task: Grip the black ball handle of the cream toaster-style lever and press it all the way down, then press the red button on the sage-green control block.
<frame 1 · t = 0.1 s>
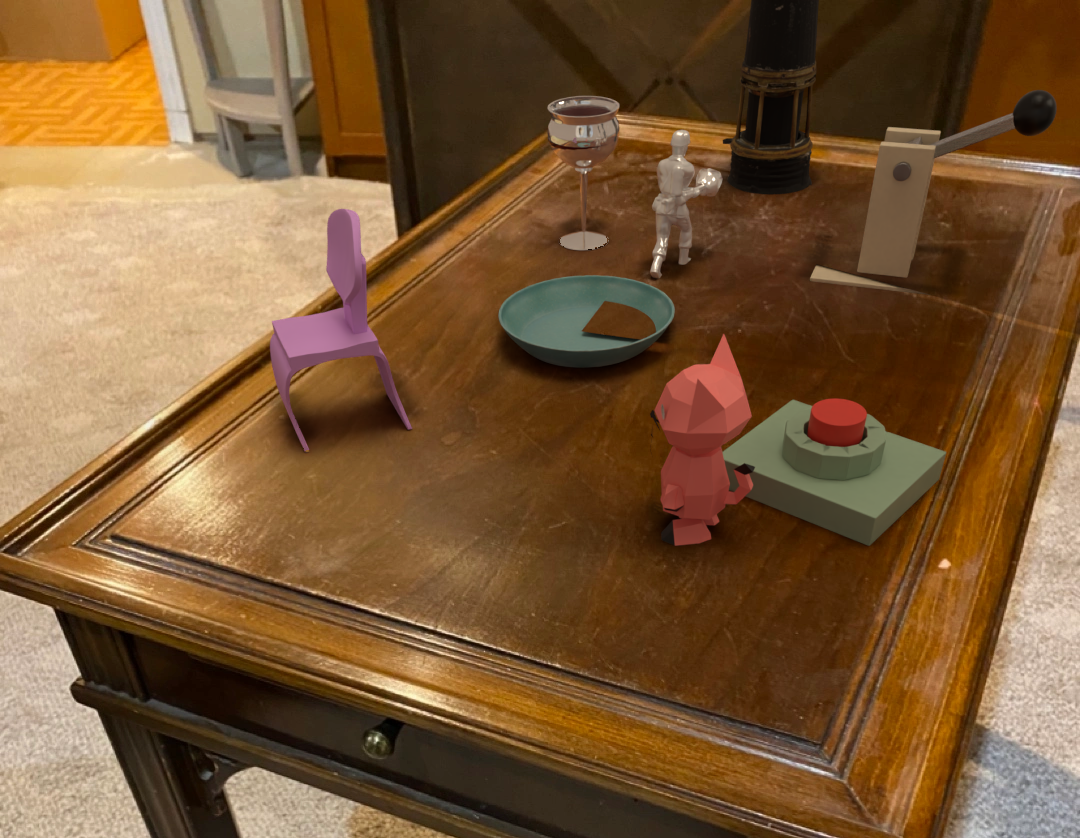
button: (836, 423, 70), point 4 cm above the table, slide at 0.1 cm
figurine: (676, 274, 99), on the table
button block: (825, 481, 73), on the table
lever: (969, 137, 86), point 12 cm above the table, hinge at 25.0°
toy chair: (346, 424, 81), on the table
lantern: (767, 190, 114), on the table
saucer: (586, 342, 90), on the table
wineglass: (583, 242, 105), on the table
bracket: (882, 278, 96), on the table
cat figurine: (695, 529, 70), on the table
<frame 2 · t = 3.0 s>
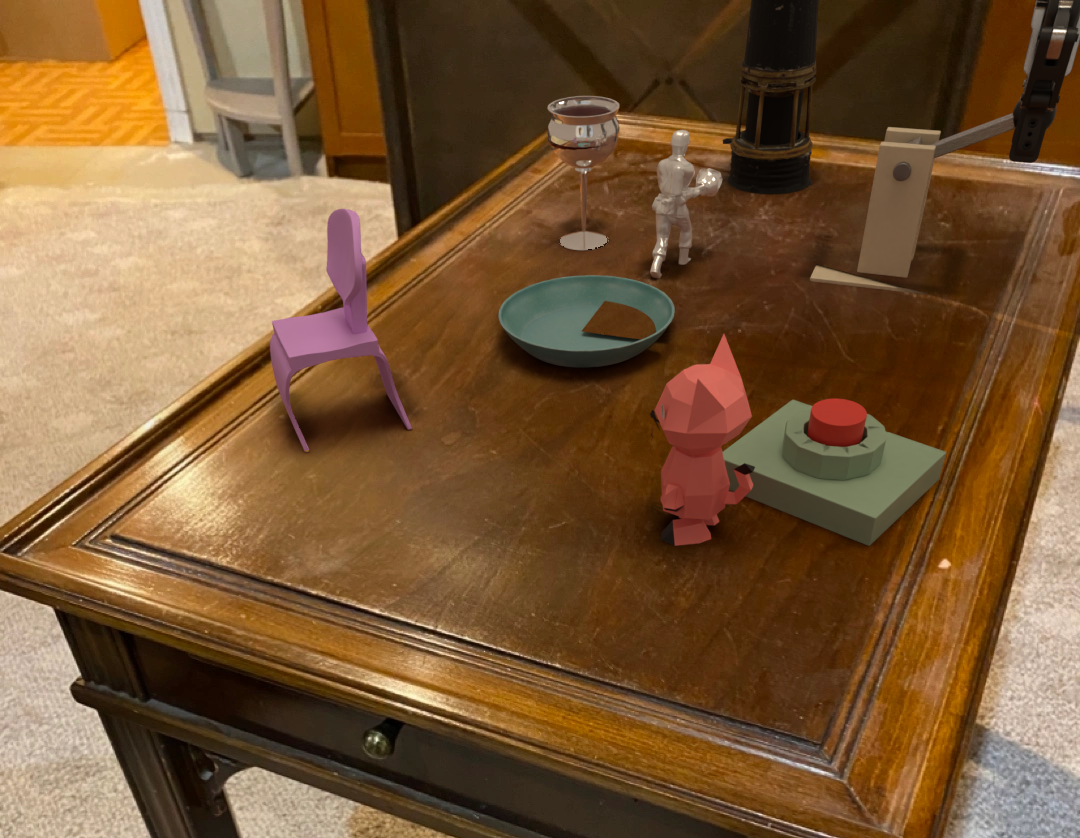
hand: (1023, 152, 86), 11 cm above the table, tool pointing down, fingers closed on lever, 3 cm apart
lever: (969, 137, 86), point 12 cm above the table, hinge at 25.0°, touching gripper
everything else where it was.
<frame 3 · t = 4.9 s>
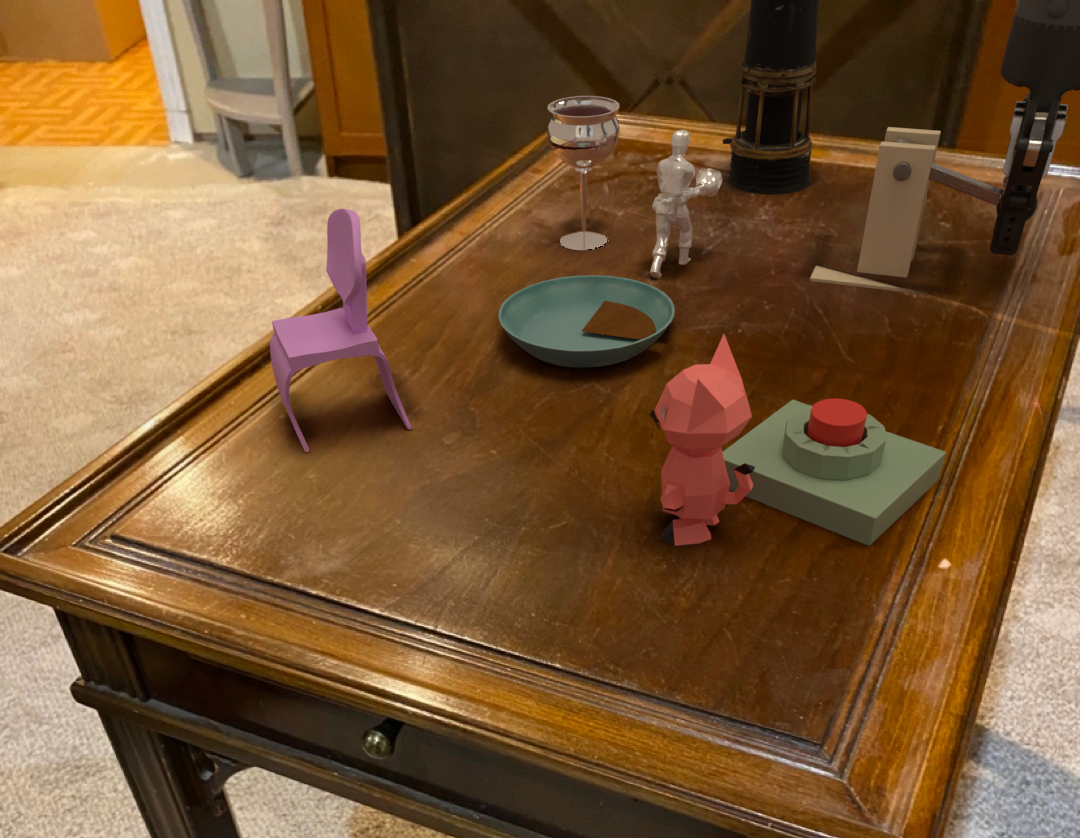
hand: (1004, 243, 91), 4 cm above the table, tool pointing down, fingers closed on lever, 3 cm apart
lever: (962, 183, 89), point 9 cm above the table, hinge at -15.5°, touching gripper
everything else where it was.
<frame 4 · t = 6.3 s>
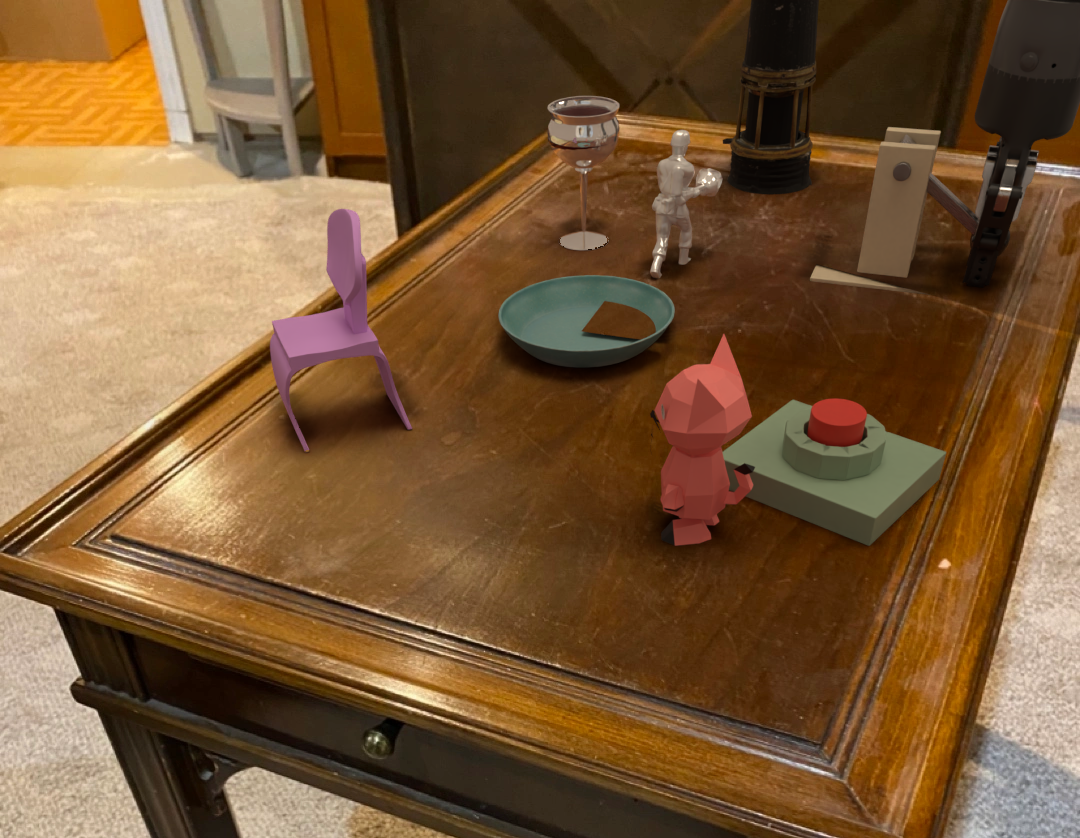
hand: (975, 281, 94), 1 cm above the table, tool pointing down, fingers closed on lever, 3 cm apart
lever: (949, 201, 90), point 7 cm above the table, hinge at -34.4°, touching gripper
everything else where it was.
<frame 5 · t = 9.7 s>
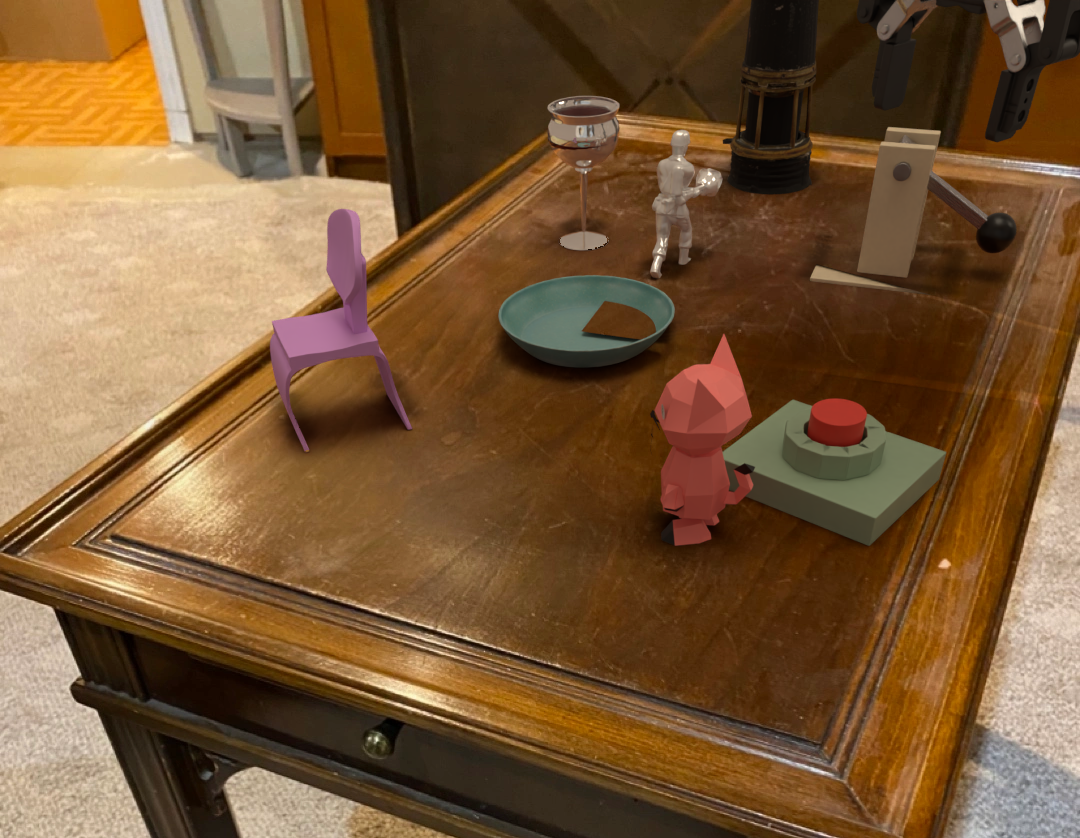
hand: (941, 122, 66), 20 cm above the table, tool pointing down, fingers open, 8 cm apart
lever: (952, 197, 90), point 7 cm above the table, hinge at -30.5°
everything else where it was.
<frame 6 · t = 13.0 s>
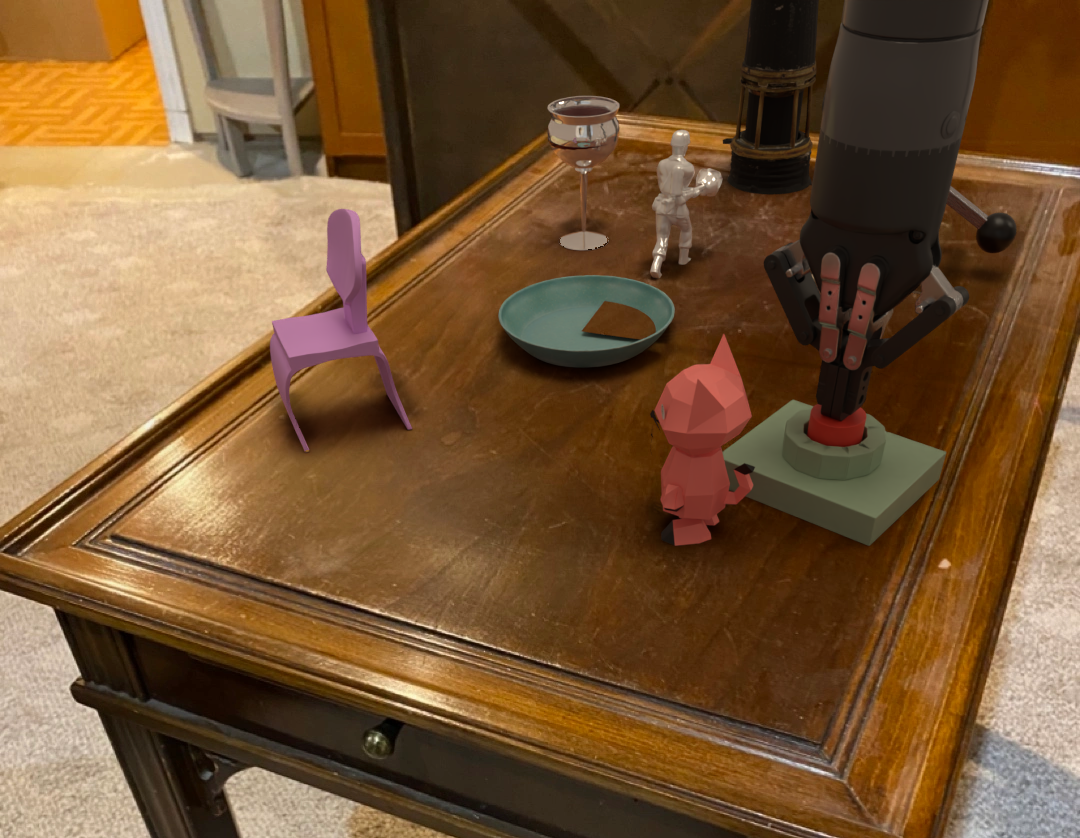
hand: (837, 413, 69), 5 cm above the table, tool pointing down, fingers closed
button: (836, 425, 70), point 4 cm above the table, slide at 0.0 cm, touching gripper
everything else where it was.
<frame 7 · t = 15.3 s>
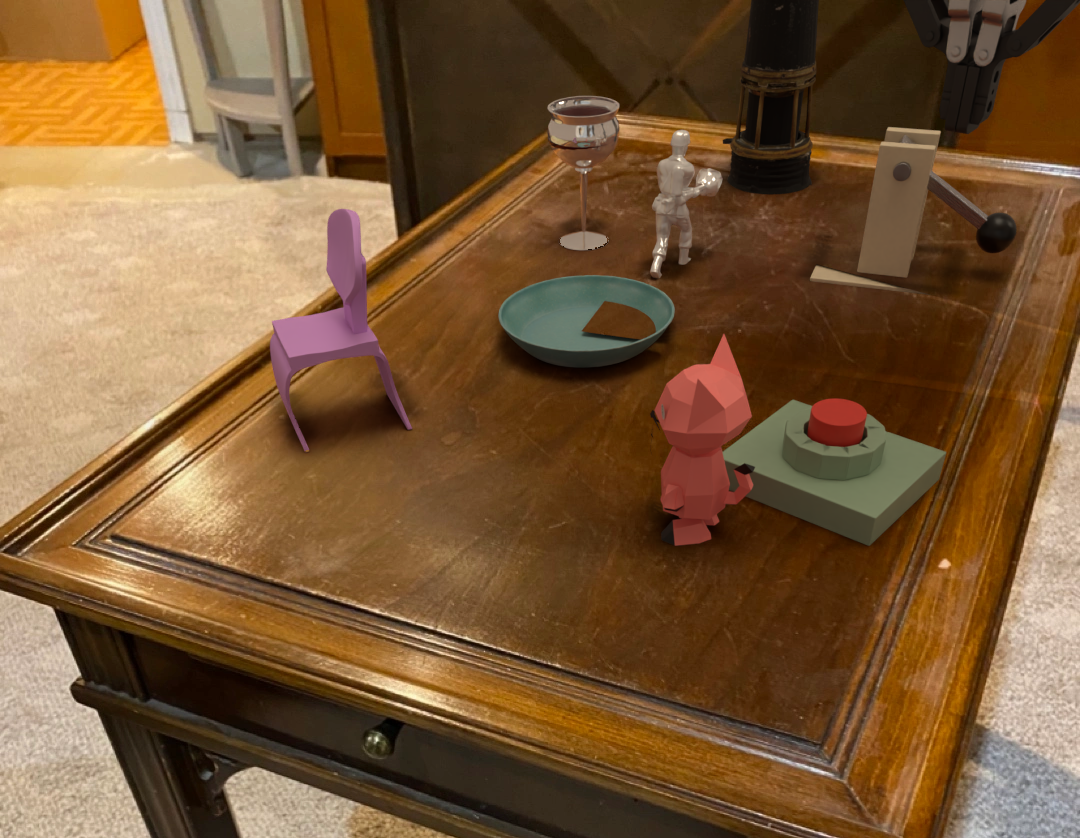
hand: (961, 128, 66), 19 cm above the table, tool pointing down, fingers closed
button: (836, 423, 70), point 4 cm above the table, slide at 0.1 cm
everything else where it was.
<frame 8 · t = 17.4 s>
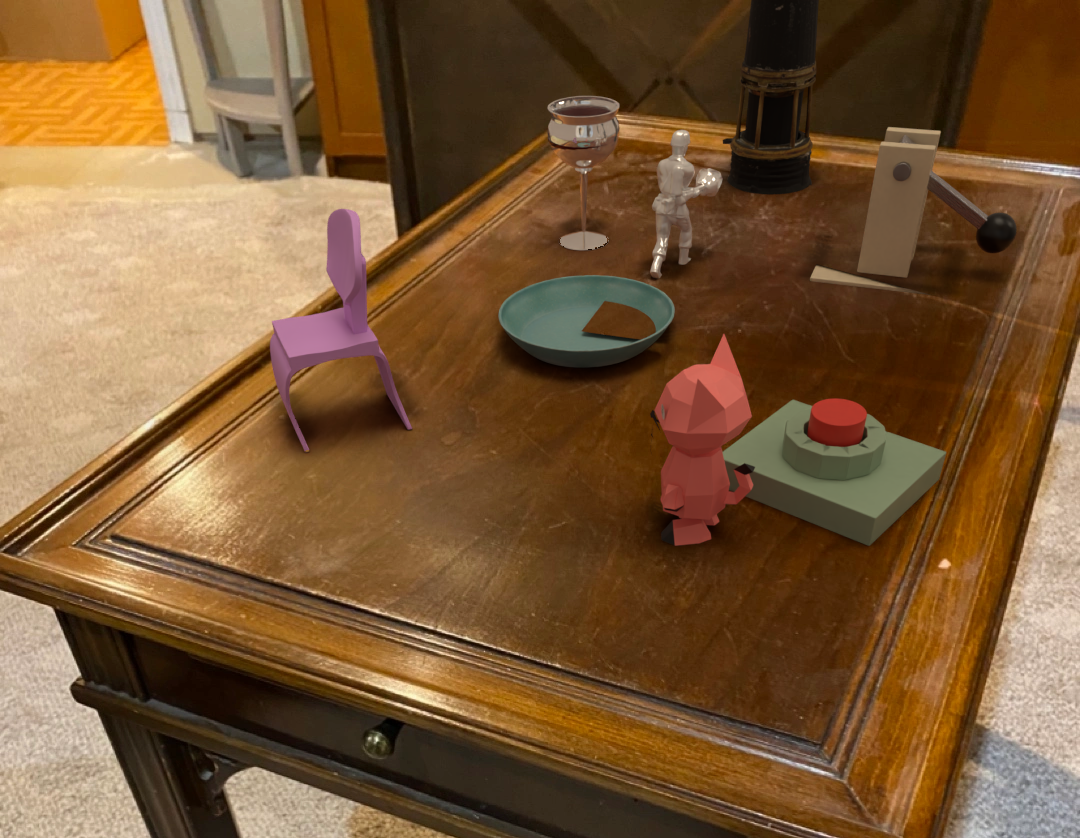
nothing on the table moved.
at the end: lever at -30° (first picture: +25°); button pushed in 1.0 cm at the most during the clip, back to where it started at the end; button slide at 0.1 cm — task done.
